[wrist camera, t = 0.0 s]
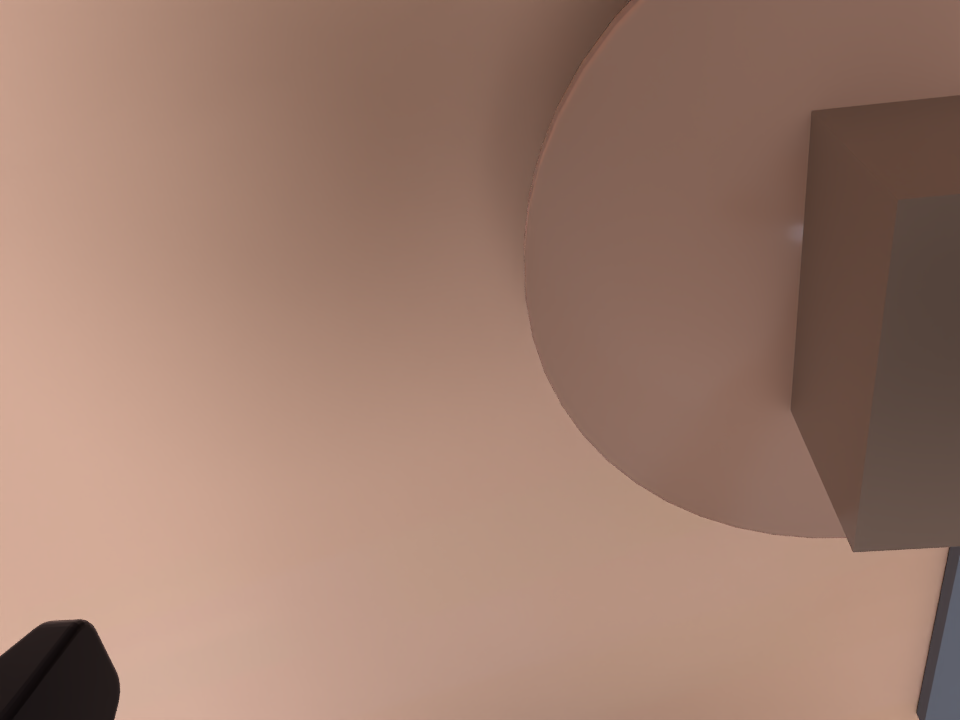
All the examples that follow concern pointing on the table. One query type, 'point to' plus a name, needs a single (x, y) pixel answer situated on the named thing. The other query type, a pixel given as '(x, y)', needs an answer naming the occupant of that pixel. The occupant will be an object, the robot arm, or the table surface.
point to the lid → (762, 262)
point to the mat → (944, 651)
